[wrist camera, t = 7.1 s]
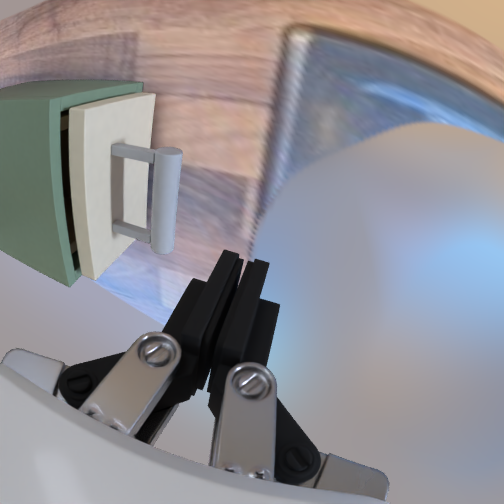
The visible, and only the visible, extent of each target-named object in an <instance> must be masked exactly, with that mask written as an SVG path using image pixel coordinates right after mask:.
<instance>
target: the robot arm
mask: <svg viewBox="0 0 504 504" xmlns="http://www.w3.org/2000/svg"><path fill="white" fill-rule="evenodd" d="M243 261H244V259H240V258H239V254H238V253H235V252H231V251H228V250H224V251H223V253H222V254H221V256H220V258H219V260H218V262H217V264H216V266H215V268H214V270H213V272H212V273H211V275H210V277H209V279H208V281H207V282H205V281H201V280H198V279H195V278H193V279H192V280H191V282H190V283H189V285H188V287H187V288H186V290H185V292H184V294H183V295H182V297H181V299H180V301H179V302H178V304H177V306H176V308H175V309H174V311H173V313H172V315H171V316H170V318H169V320H168V322H167V324H166V325H165V327H164V329H163V331H162V332H149V333H146V334H143V335H142V336H140V337H139V338H138V339H137V340H136V341H135V342H134V343H133V344H132V346H131V347H130V348H129V349H128V350H127V351H126V352H122V353H119V354H115V355H111V356H107V357H104V358H100V359H96V360H92V361H88V362H84V363H80V364H76V365H73V366H67V365H65V363H64V362H61V361H58V360H55V359H51V358H48V357H45V356H42V355H39V354H36V353H33V352H30V351H27V350H24V349H19V348H16V349H12V350H10V351H9V352H7V353H6V355H5V356H4V358H3V360H2V362H1V363H0V504H390V503H388V502H385V501H386V498H387V494H388V491H389V481H388V478H387V476H386V475H385V474H384V473H383V472H381V471H379V470H377V469H374V468H371V467H367V466H365V465H361V464H358V463H355V462H353V461H350V460H347V459H344V458H341V457H339V456H336V455H333V454H331V453H330V454H328V455H327V454H324V453H322V452H319V451H318V450H317V448H316V447H315V445H314V444H313V443H312V442H311V441H310V439H309V438H308V436H307V435H306V434H305V433H304V432H303V430H302V429H301V428H300V426H299V425H298V424H297V423H296V421H295V420H294V419H293V417H292V416H291V415H290V413H289V412H288V411H287V410H286V408H285V407H284V406H283V405H282V403H281V402H280V400H279V399H278V398H277V383H276V379H275V377H274V375H273V373H272V372H271V371H270V370H269V369H268V368H267V367H266V366H267V362H268V357H269V353H270V348H271V344H272V340H273V335H274V331H275V326H276V322H277V317H278V313H279V308H280V304H277V303H273V302H270V301H267V300H264V299H260V294H261V291H262V288H263V285H264V281H265V278H266V274H267V271H268V267H269V263H268V262H265V261H262V260H258V259H255V260H254V262H251V261H248V262H247V265H246V268H245V270H244V273H243V275H242V278H241V280H240V283H239V279H240V274H241V270H242V266H243ZM238 283H239V285H238ZM237 287H238V288H237ZM210 369H211V372H210ZM209 372H210V378H209V383H208V388H207V392H209V393H210V398H209V403H208V407H209V408H210V410H211V412H212V413H213V415H214V417H215V422H214V429H213V436H212V442H211V449H210V456H209V463H208V466H207V465H204V464H201V463H197V462H194V461H191V460H188V459H185V458H183V457H180V456H177V455H174V454H171V453H168V452H166V451H163V450H161V449H158V448H156V447H153V445H154V444H155V442H156V441H157V439H158V437H159V436H160V434H161V433H162V431H163V430H164V428H165V427H166V425H167V423H168V422H169V420H170V419H171V417H172V416H173V414H174V413H175V411H176V409H177V408H178V406H179V403H181V402H184V401H187V400H189V399H190V397H191V395H193V396H194V395H195V393H196V390H197V389H200V390H203V388H204V385H205V383H206V380H207V377H208V375H209Z"/></svg>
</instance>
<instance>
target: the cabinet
mask: <svg viewBox="0 0 504 504" xmlns="http://www.w3.org/2000/svg"><path fill="white" fill-rule="evenodd" d="M142 88H143V82H134V81H117V80H49V81H33V82H26V83H21V84H17V85H13V86H9V87H6V88H2V89H0V250H1V251H3V252H5V253H6V254H8V255H10V256H12V257H13V258H15V259H17V260H19V261H21V262H22V263H24V264H26V265H27V266H29V267H31V268H33V269H35V270H37V271H39V272H40V273H42V274H44V275H46V276H48V277H50V278H52V279H54V280H56V281H58V282H60V283H62V284H64V285H66V286H68V287H71V286H72V285H73V284H74V283H75V282H76V280H77V279H78V278H79V277H80V276H81V275H82V272H81V267H80V261H79V255H78V249H77V250H76V251H75V252H74V253H73V254H72V255H71V249H70V243H69V237H68V230H67V223H66V215H65V206H64V196H63V185H62V171H61V147H60V112H62V111H65V110H68V109H70V108H72V107H76V106H80V105H84V104H88V103H92V102H96V101H100V100H105V99H109V98H114V97H119V96H124V95H129V94H134V93H140V92H142Z"/></svg>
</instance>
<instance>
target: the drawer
mask: <svg viewBox="0 0 504 504" xmlns="http://www.w3.org/2000/svg"><path fill="white" fill-rule="evenodd" d="M155 97H156V94H154V93H145V92H140V93H134V94H129V95H124V96H119V97H114V98H109V99H105V100H100V101H96V102H92V103H88V104H84V105H80V106H76V107H72V108H70V109H68V110H65V111H62V112H60V147H61V171H62V185H63V196H64V206H65V215H66V223H67V230H68V237H69V243H70V249H71V255H72V254H73V253H74V252H75V251H76V250H77V249H78V255H79V261H80V267H81V272H82V275H83V276H86V277H88V278H90V279H92V280H95V281H96V280H97V279H98V278H99V277H100V276H101V274H102V273H103V272H104V271H105V270H106V269H107V268H108V267H109V266H110V265H111V264H112V263H113V262H114V261H115V260H116V259H117V258H118V257H119V256H120V255H121V254H122V253H123V252H124V251H125V250H126V249H127V248H128V247H129V246H130V245H131V244H132V243H133V242H134V241H135V240H136V239H137V240H140V241H143V242H146V243H151V249H152V251H153V252H155V253H157V254H168V253H170V252H172V251H173V249H174V238H175V225H176V213H177V201H178V191H179V181H180V172H181V164H182V155H183V152H182V150H180V149H178V148H174V147H161V148H158V149H156V150H154V149H150V144H151V133H152V123H153V114H154V105H155ZM149 163H152V164H154V176H153V192H152V214H151V230H148V229H146V214H147V188H148V170H149Z"/></svg>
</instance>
